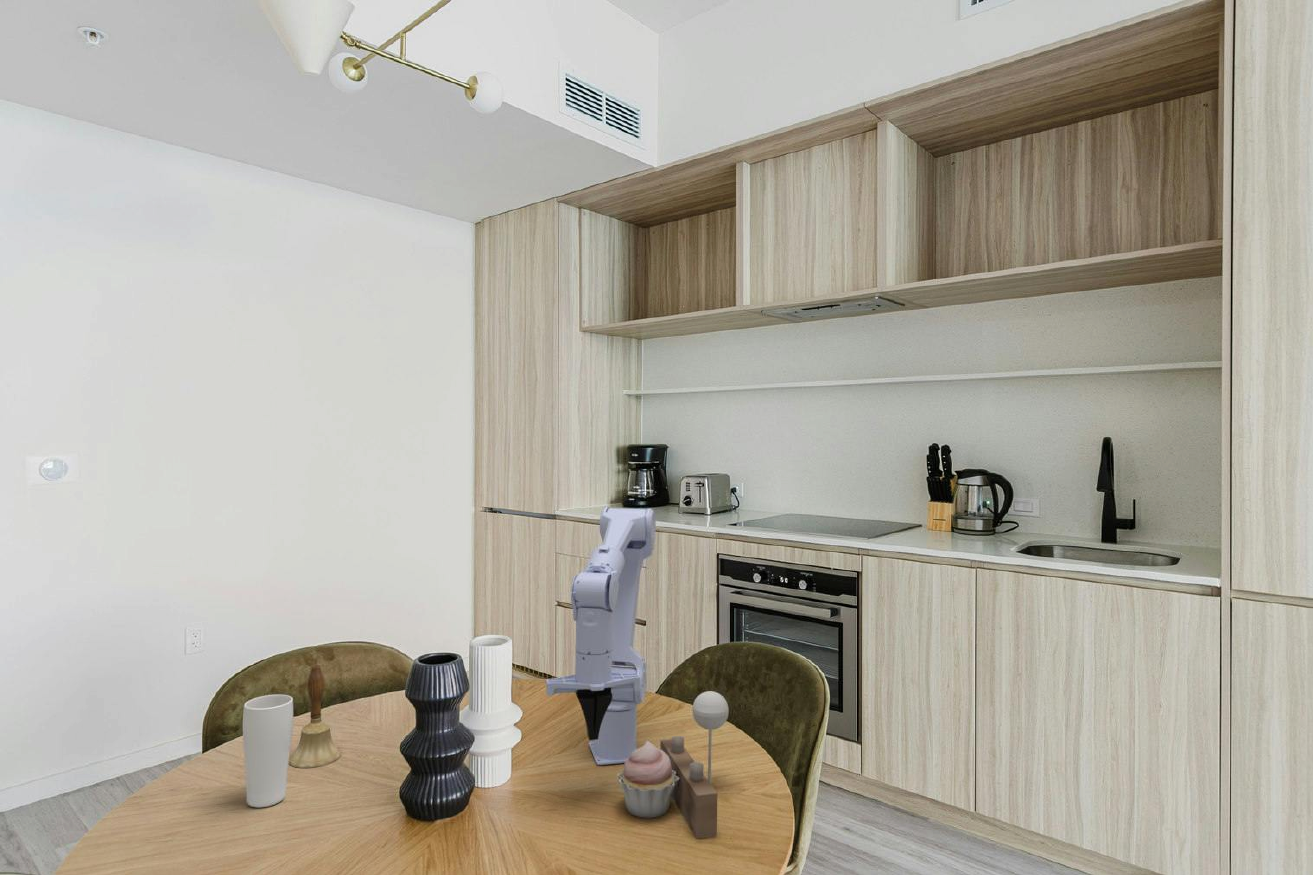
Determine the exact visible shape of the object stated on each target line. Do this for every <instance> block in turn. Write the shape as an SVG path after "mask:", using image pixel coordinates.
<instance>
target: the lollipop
mask: <svg viewBox="0 0 1313 875" xmlns="http://www.w3.org/2000/svg"><path fill="white" fill-rule="evenodd" d="M691 709H692V710H691V712H692V716H693V719H694V721H695V722H696V724H697V725H698V726H699V727H700V728H702V729H704V730H708V757H707V758H708V760H707V761H708V765H707V766H708V767H707V772H708V773H707V774H708V775H707V780H708V781H709V782H710V784H711V785H712V736H713V734H712V733H713V732H712V731H714V730H717V729H720V728H721V727H723V725H724V724H726V722H727V720H728V717H729V712H730V710H729V709H730V708H729V705H728V702H727V700H726V699H725V697H724V696H723V695H722V694H720V693H719V692H716V691H714V690H713V691H712V690H708V691H704V692H701V693H700V694H699V695H698V696H697V697H695V699H694V701H693V705H692V708H691Z"/></svg>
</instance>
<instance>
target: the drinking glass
mask: <svg viewBox="0 0 1313 875" xmlns="http://www.w3.org/2000/svg"><path fill="white" fill-rule="evenodd" d="M242 713H243V714H242V742H243V745H242V746H243V756H244V757H243V758H244V772H245V783H246V784H245V785H246V786H245V787H246V789H245V790H246V793H245V794H246V796H245V798H246V799H245V801H246V804H247V805H248V806H250V807H252V808H266V807H271V806H273V805H277V804H279V803H280V802H282V801H283V800H284V799H285V798H286V794H287V782H288V781H287V780H288V772H289V771H288V770H289V765H290V764H289V758H290V756H291V755H290V754H291V746H292V738H293V728H294V727H293V725H294V698H293V697H292V696H291V695H288V694H279V693H278V694H267V695H261V696H258V697H254V698H252V699H249V700H247V701H246V702H245V703H244V705H243V712H242Z"/></svg>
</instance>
